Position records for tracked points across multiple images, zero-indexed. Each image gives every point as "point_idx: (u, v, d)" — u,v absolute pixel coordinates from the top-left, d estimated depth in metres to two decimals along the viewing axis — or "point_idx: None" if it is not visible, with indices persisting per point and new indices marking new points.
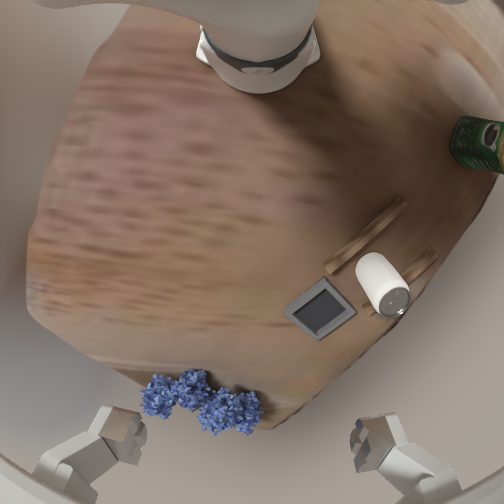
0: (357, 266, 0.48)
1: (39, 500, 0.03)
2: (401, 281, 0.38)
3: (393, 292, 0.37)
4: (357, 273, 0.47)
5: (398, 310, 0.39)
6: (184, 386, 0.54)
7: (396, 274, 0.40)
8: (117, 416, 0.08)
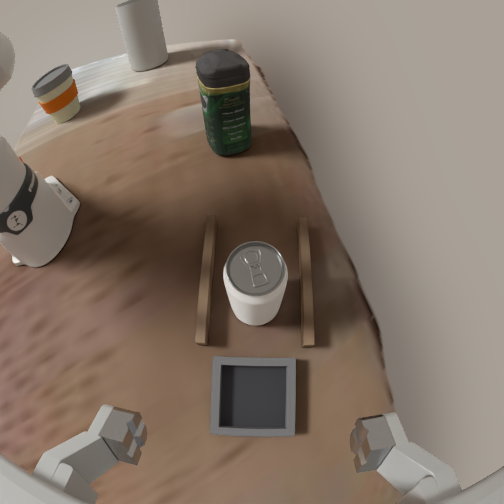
0: (234, 313, 0.36)
1: (39, 500, 0.03)
2: None
3: (237, 261, 0.27)
4: (238, 317, 0.35)
5: (276, 271, 0.27)
6: None
7: None
8: (117, 416, 0.08)
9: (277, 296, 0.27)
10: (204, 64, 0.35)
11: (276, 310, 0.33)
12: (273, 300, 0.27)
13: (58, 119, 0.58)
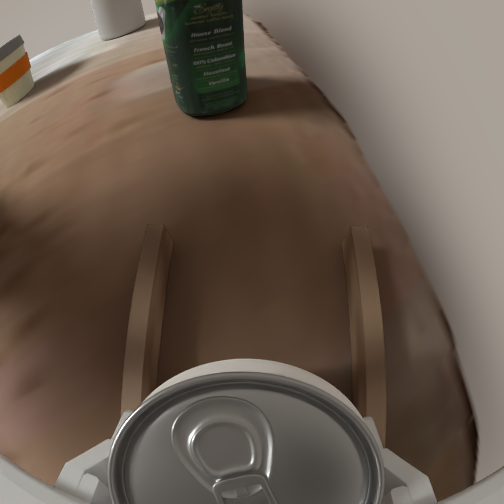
0: None
1: (39, 500, 0.03)
2: (186, 372, 0.06)
3: (158, 458, 0.04)
4: None
5: None
6: None
7: None
8: None
9: None
10: None
11: None
12: None
13: (6, 101, 0.36)
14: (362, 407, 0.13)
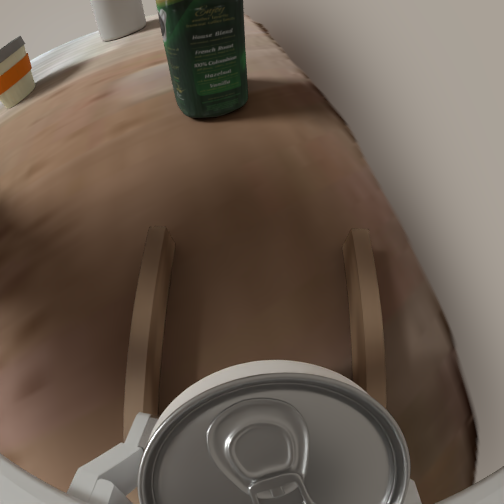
0: None
1: (39, 500, 0.03)
2: (215, 375, 0.06)
3: (192, 463, 0.04)
4: None
5: (370, 497, 0.04)
6: None
7: None
8: None
9: None
10: None
11: None
12: None
13: (7, 102, 0.36)
14: None
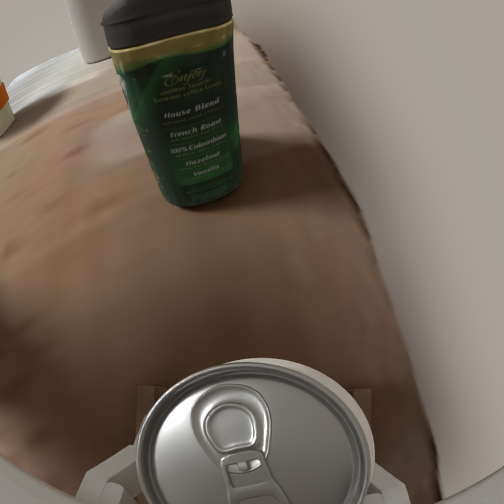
0: None
1: (39, 500, 0.03)
2: None
3: (179, 436, 0.06)
4: None
5: (332, 485, 0.04)
6: None
7: None
8: None
9: None
10: (117, 1, 0.10)
11: None
12: None
13: None
14: None
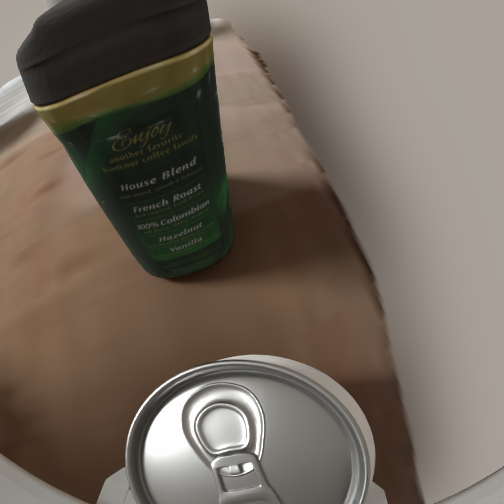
0: None
1: (39, 500, 0.03)
2: None
3: (169, 436, 0.05)
4: None
5: (329, 491, 0.04)
6: None
7: None
8: None
9: None
10: None
11: None
12: None
13: None
14: None
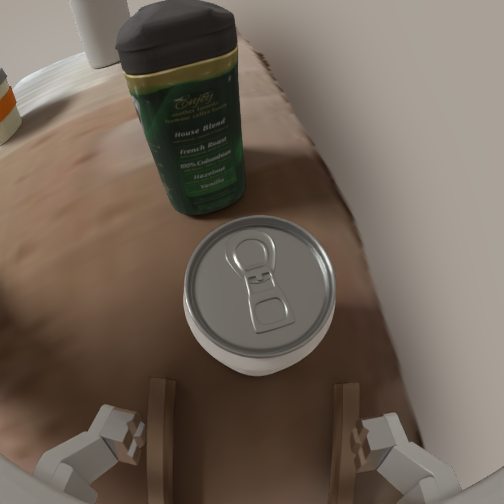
0: None
1: (39, 500, 0.03)
2: None
3: (216, 262, 0.11)
4: None
5: (313, 293, 0.10)
6: None
7: None
8: (117, 416, 0.08)
9: (311, 351, 0.10)
10: (129, 25, 0.12)
11: None
12: (300, 359, 0.11)
13: None
14: None
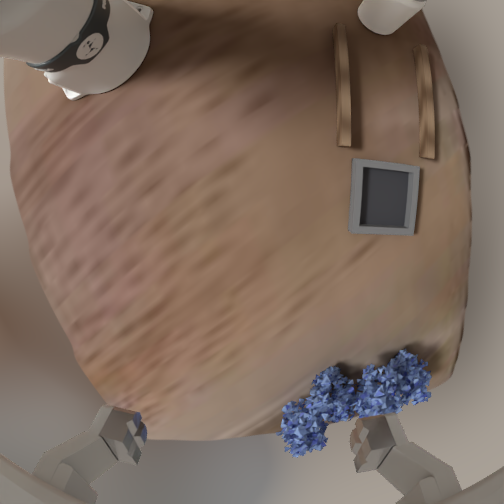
0: (363, 21, 0.27)
1: (39, 500, 0.03)
2: None
3: None
4: (369, 23, 0.26)
5: None
6: (320, 397, 0.39)
7: None
8: (117, 416, 0.08)
9: (421, 7, 0.18)
10: None
11: None
12: (419, 9, 0.18)
13: None
14: (425, 111, 0.30)
